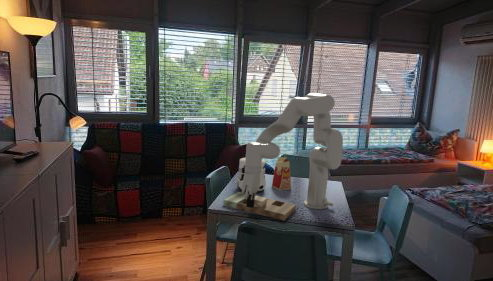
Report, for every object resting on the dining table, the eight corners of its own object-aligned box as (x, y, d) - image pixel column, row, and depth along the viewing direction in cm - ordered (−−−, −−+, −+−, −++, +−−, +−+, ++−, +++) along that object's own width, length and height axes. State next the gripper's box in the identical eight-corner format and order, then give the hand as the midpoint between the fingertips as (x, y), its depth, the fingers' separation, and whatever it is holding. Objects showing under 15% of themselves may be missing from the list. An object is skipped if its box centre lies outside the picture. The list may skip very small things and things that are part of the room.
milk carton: (291, 188, 206) (294, 157, 202) (279, 190, 200) (282, 158, 197) (281, 184, 213) (284, 154, 210) (270, 186, 208) (272, 155, 204)
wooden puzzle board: (295, 210, 169) (295, 204, 169) (284, 220, 155) (284, 214, 155) (238, 197, 184) (238, 191, 183) (223, 205, 170) (223, 199, 169)
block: (266, 204, 166) (266, 198, 166) (261, 208, 161) (262, 201, 160) (255, 202, 169) (256, 195, 168) (250, 205, 163) (250, 198, 163)
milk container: (270, 189, 201) (272, 160, 198) (256, 196, 187) (258, 165, 184) (245, 183, 210) (247, 155, 207) (230, 190, 195) (232, 160, 192)
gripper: (252, 164, 162) (250, 200, 165) (238, 170, 149) (235, 209, 152) (266, 167, 159) (263, 204, 162) (253, 173, 146) (250, 213, 149)
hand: (250, 206), depth 157 cm, fingers closed
